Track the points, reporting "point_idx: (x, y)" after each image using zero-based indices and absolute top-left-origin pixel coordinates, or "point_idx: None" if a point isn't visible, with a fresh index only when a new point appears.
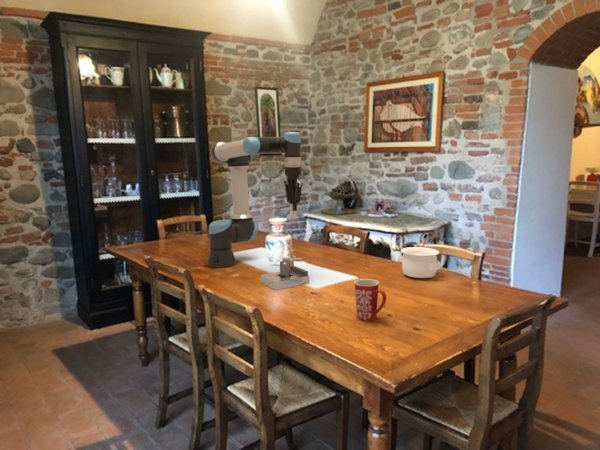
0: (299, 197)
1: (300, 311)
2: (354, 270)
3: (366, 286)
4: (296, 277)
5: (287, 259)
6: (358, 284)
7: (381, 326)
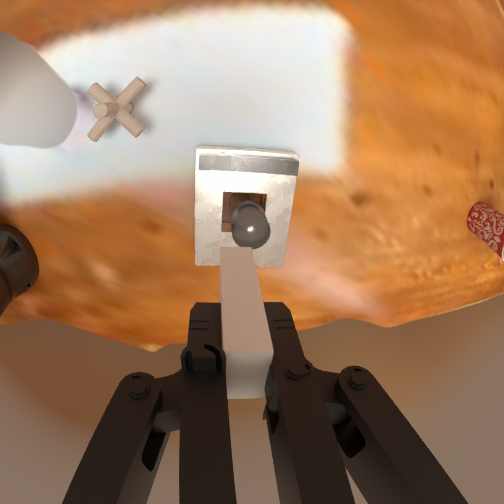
0: (401, 431)
1: (400, 278)
2: None
3: None
4: (286, 198)
5: (108, 125)
6: (500, 242)
7: None
